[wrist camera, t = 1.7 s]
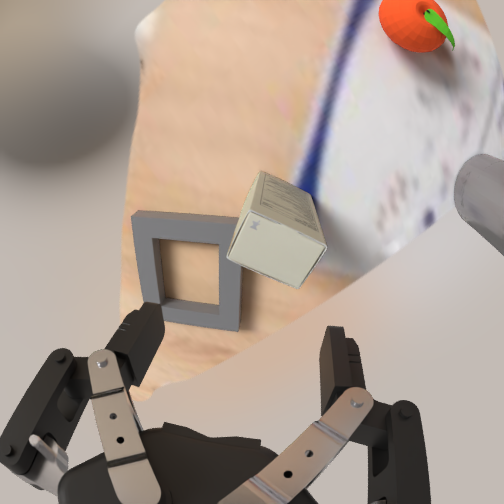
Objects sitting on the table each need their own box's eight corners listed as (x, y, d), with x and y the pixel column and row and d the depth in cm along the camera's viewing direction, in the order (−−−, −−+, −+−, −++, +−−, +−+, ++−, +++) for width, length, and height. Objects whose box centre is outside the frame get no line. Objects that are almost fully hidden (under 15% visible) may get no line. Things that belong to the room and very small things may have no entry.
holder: (245, 218, 33) (242, 225, 31) (240, 321, 40) (238, 331, 38) (138, 210, 34) (130, 216, 32) (151, 309, 41) (146, 317, 39)
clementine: (445, 36, 20) (479, 26, 14) (419, 75, 23) (451, 71, 17) (388, -11, 19) (411, -34, 12) (358, 27, 22) (378, 8, 15)
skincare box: (243, 203, 32) (220, 257, 21) (260, 168, 30) (244, 206, 19) (295, 228, 33) (299, 293, 22) (314, 195, 31) (329, 247, 20)
